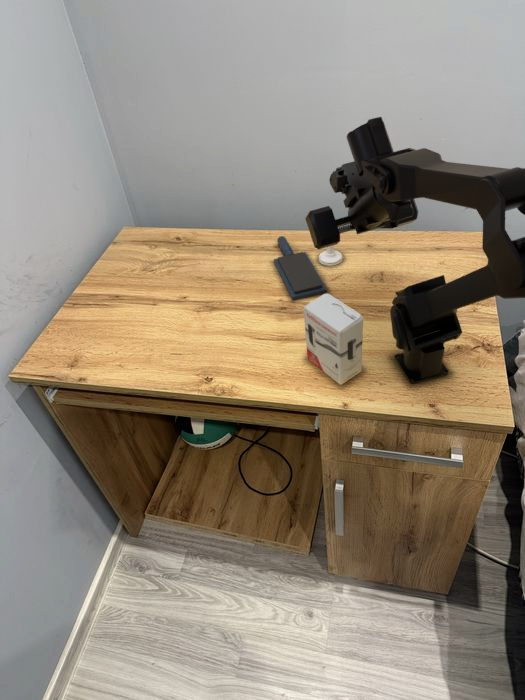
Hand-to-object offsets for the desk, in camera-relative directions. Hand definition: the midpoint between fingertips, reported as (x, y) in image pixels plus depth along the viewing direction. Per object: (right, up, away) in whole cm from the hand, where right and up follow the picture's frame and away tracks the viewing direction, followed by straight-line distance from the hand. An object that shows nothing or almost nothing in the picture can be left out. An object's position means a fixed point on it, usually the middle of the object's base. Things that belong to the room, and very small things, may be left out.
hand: (346, 231), depth 92 cm
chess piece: (-1, -3, +13) cm, 13 cm away
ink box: (-4, -25, -9) cm, 27 cm away
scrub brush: (-9, -5, +12) cm, 16 cm away
